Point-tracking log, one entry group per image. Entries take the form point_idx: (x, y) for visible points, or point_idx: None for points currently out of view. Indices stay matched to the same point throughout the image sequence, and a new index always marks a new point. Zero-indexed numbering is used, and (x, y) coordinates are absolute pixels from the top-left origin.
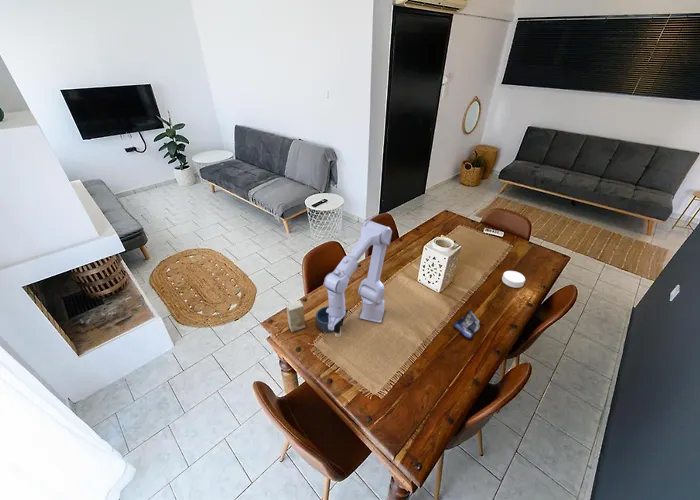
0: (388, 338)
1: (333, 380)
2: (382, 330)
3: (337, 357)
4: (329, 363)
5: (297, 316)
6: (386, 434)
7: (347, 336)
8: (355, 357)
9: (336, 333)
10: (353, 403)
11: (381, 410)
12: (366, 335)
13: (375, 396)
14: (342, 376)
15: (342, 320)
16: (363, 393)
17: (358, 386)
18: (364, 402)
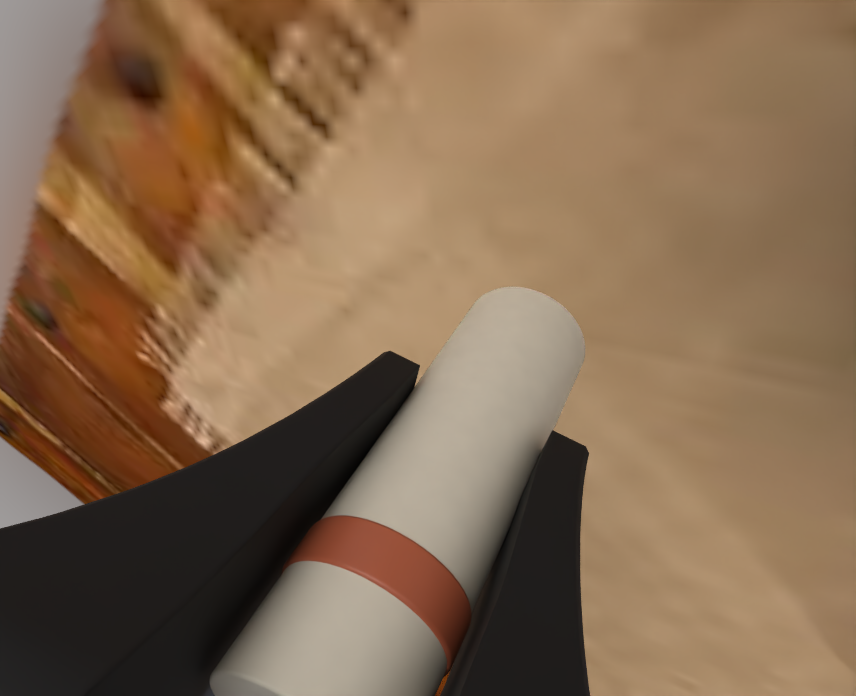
0: (625, 631)
1: (155, 116)
2: (737, 644)
3: (402, 177)
4: (313, 74)
5: None
6: (25, 368)
7: (733, 343)
8: (419, 351)
9: (436, 359)
10: (70, 252)
11: (106, 385)
12: (700, 519)
13: (160, 384)
14: (214, 204)
15: (443, 690)
16: (150, 326)
17: (181, 309)
18: (104, 317)
